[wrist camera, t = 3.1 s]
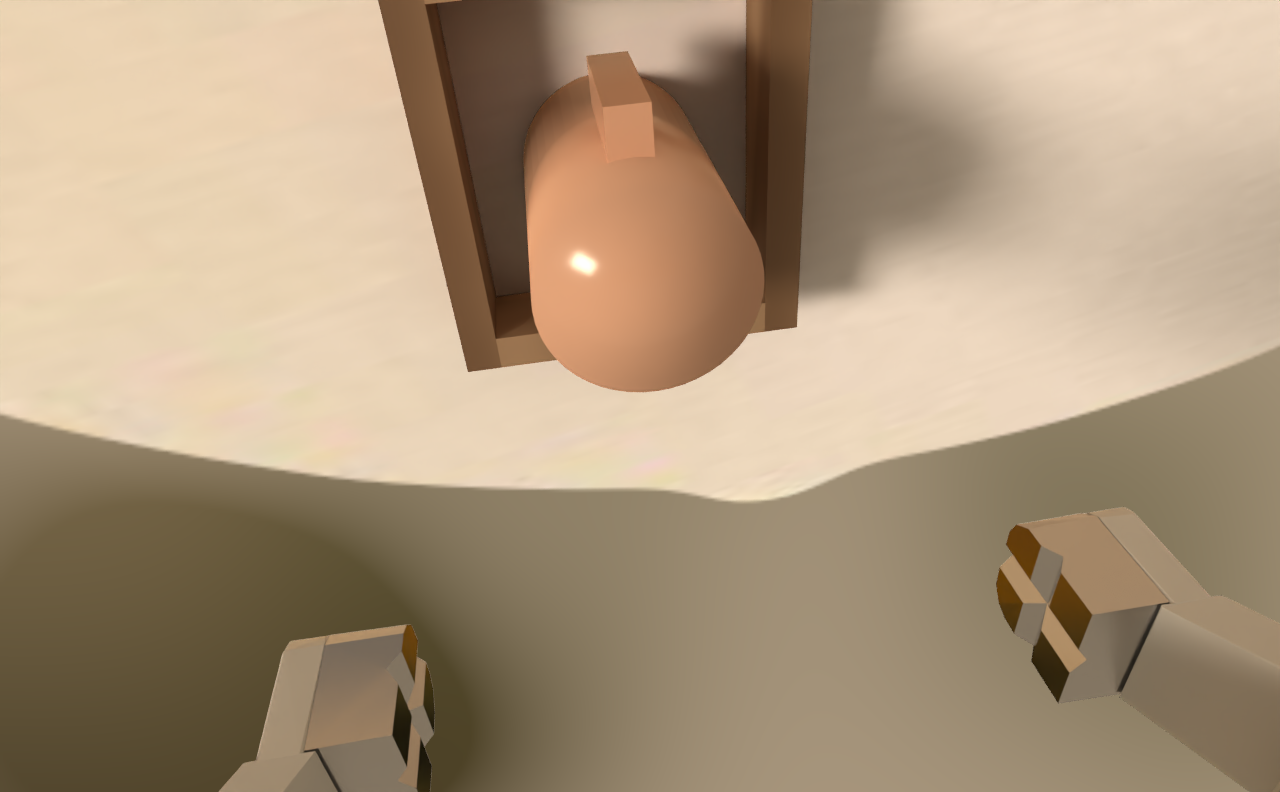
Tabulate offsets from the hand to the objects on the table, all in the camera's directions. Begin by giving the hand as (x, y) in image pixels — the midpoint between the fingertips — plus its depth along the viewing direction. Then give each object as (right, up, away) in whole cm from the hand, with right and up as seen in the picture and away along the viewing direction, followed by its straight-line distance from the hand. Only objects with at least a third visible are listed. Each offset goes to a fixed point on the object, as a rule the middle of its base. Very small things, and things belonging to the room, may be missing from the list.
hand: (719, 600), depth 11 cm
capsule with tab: (-2, +10, +13) cm, 16 cm away
